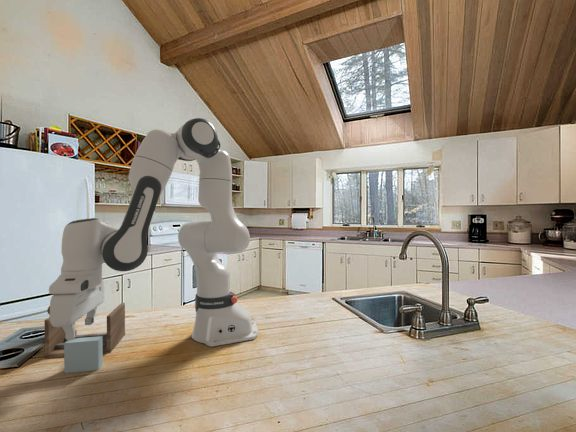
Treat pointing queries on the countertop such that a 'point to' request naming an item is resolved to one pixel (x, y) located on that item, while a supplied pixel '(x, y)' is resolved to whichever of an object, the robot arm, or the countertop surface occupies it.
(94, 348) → the door panel
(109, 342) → the cabinet
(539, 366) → the countertop surface
